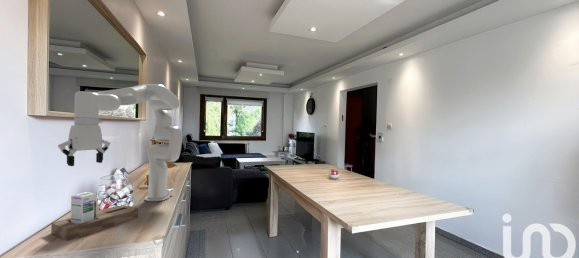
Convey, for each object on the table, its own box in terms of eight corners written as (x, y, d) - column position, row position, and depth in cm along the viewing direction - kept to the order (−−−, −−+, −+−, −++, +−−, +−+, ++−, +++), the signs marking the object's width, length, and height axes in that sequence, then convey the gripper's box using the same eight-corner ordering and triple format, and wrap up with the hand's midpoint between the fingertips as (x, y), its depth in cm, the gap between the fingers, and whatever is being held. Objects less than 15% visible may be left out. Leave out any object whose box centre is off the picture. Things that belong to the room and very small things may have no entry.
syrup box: (81, 233, 94) (82, 196, 94) (69, 231, 95) (71, 194, 95) (96, 227, 99) (97, 192, 99) (85, 225, 101) (86, 191, 101)
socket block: (51, 233, 93) (51, 223, 93) (122, 212, 116) (122, 204, 116) (67, 240, 88) (67, 229, 88) (137, 217, 111) (138, 208, 111)
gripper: (104, 122, 107) (104, 160, 107) (54, 121, 91) (53, 166, 92) (115, 123, 104) (114, 162, 104) (64, 122, 88) (63, 168, 88)
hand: (85, 164), depth 98 cm, fingers open, 9 cm apart
